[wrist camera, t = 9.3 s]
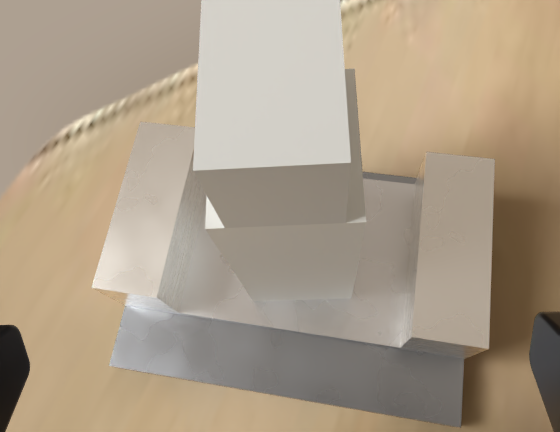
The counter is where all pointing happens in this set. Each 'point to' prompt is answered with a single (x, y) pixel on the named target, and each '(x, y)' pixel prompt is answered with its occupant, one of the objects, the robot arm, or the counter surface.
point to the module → (280, 147)
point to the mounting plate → (307, 313)
